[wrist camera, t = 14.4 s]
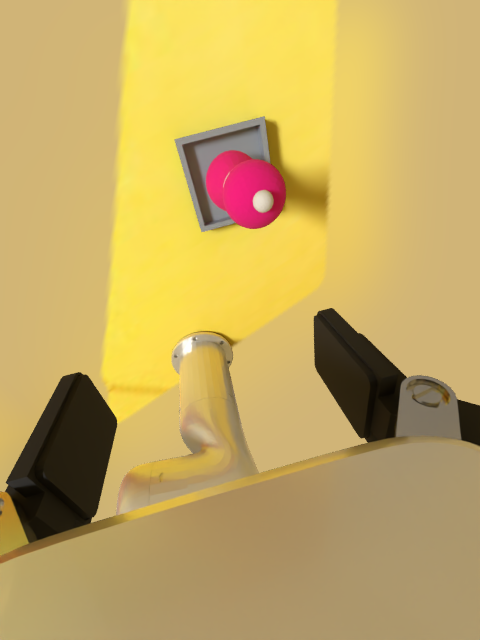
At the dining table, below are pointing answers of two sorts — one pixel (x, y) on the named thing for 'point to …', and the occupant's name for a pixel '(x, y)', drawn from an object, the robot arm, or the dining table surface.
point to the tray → (205, 149)
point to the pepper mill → (246, 188)
